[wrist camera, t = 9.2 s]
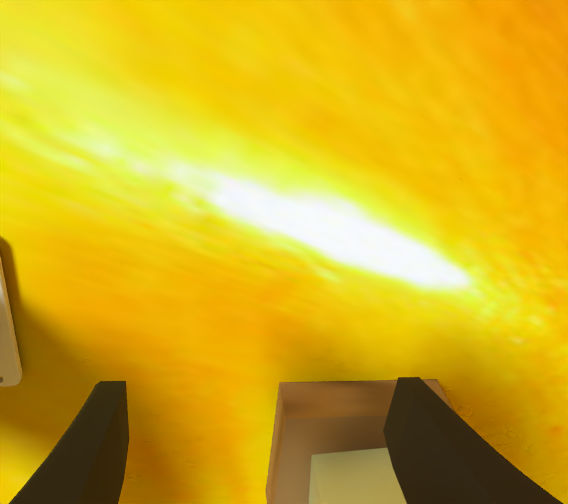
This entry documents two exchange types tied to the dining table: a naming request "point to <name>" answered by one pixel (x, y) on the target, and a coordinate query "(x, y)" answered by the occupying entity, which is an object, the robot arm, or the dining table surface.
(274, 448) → the walnut pedestal
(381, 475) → the pale yellow block
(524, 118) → the dining table surface
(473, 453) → the robot arm
